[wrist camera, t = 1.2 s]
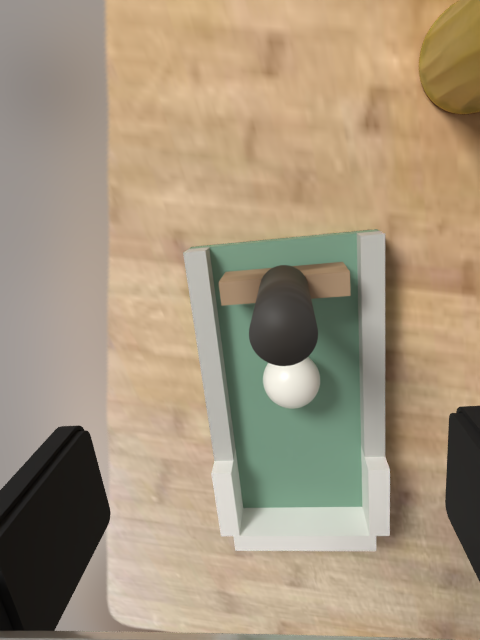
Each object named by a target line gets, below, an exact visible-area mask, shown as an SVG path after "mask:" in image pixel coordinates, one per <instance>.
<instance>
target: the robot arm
mask: <svg viewBox="0 0 480 640" xmlns="http://www.w3.org/2000/svg"><path fill="white" fill-rule="evenodd" d="M445 502H446V510H447V514H448V517H449V520H450V522H451V524H452V526H453V528H454V530H455V532H456V534H457V536H458V538H459V540H460V542H461V544H462V546H463V548H464V551H465V553H466V555H467V557H468V559H469V561H470V563H471V565H472V567H473V569H474V571H475V573H476V575H477V577H478V579H479V581H480V406H466V407H459V408H458V409H457V412H456V413H451V414H450V416H449V433H448V455H447V478H446V500H445ZM109 520H110V507H109V504H108V500H107V496H106V492H105V489H104V485H103V481H102V477H101V474H100V470H99V466H98V462H97V458H96V455H95V451H94V447H93V443H92V440H91V436H90V434H89V432H88V431H84V429H83V427H81V426H62V427H58V428H57V429H56V430H55V431H54V432H53V433H52V434H51V435H50V436H49V437H48V439H47V440H46V441H45V442H44V443H43V444H42V445H41V446H40V448H38V450H37V451H36V452H35V453H34V454H33V455H32V456H31V457H30V458H29V460H28V461H27V462H26V463H25V464H24V465H23V466H22V467H21V468H20V469H19V471H18V472H17V473H16V474H15V475H14V476H13V477H12V478H11V479H10V480H9V481H8V483H7V484H6V485H5V486H4V487H3V488H2V489H1V490H0V640H453V639H430V638H394V637H355V636H316V635H273V634H224V633H169V632H100V631H98V632H97V631H95V632H94V631H54V630H55V628H56V626H57V624H58V622H59V620H60V618H61V616H62V614H63V612H64V610H65V608H66V607H67V604H68V603H69V601H70V598H71V597H72V594H73V593H74V591H75V589H76V587H77V585H78V583H79V581H80V579H81V577H82V575H83V573H84V571H85V569H86V567H87V565H88V563H89V561H90V559H91V557H92V555H93V553H94V551H95V549H96V547H97V545H98V544H99V542H100V539H101V538H102V536H103V534H104V532H105V530H106V528H107V526H108V523H109Z"/></svg>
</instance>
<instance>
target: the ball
mask: <svg viewBox="0 0 480 640" xmlns="http://www.w3.org/2000/svg"><path fill="white" fill-rule="evenodd" d="M263 385H264V388H265V391H266V393H267V395H268V396H269V398H270V399H271V400H272V401H273V402H274V403H276V404H277V405H279V406H281V407H284V408H289V409H295V408H300V407H303V406H305V405H307V404H308V403H310V402H311V401H312V400H313V399H314V397H315V396H316V395H317V393H318V390H319V387H320V374H319V371H318V368H317V366H316V365H315V363H314V362H313V361H312V360H311V359H310V358H309V357H307V358H306V359H305V360H303V361H302V362H300V363H297V364H295V365H291V366H277V365H273V364H270V363H268V364H267V366H266V368H265V370H264V374H263Z"/></svg>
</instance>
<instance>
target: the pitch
mask: <svg viewBox="0 0 480 640" xmlns="http://www.w3.org/2000/svg"><path fill="white" fill-rule="evenodd" d="M183 254H184V261H185V268H186V274H187V281H188V287H189V294H190V301H191V307H192V314H193V321H194V327H195V334H196V341H197V347H198V354H199V361H200V367H201V374H202V381H203V387H204V394H205V400H206V407H207V414H208V420H209V427H210V434H211V440H212V447H213V454H214V460H215V461H214V465H213V469H212V473H211V474H212V481H213V487H214V494H215V500H216V506H217V513H218V519H219V526H220V532H221V536H234V543H235V550H236V551H376V536H390V468H389V466H388V463H387V460H386V457H385V233H383V232H381V231H379V230H377V229H375V230H364V231H354V232H343V233H333V234H322V235H312V236H302V237H291V238H281V239H270V240H260V241H249V242H239V243H228V244H218V245H207V246H197V247H191V248H189V249H188V250H186V251H185V252H184V253H183ZM334 262H343V263H344V264H345V265H346V267H347V268H348V270H349V271H350V294H351V296H341V297H328V298H315V299H311V300H312V305H313V309H314V314H315V318H316V323H317V328H318V340H317V344H316V346H315V348H314V350H313V352H312V353H311V354H310V355H309V356H308V357H309V358H310V359H311V360H312V361H313V362H314V363H315V365H316V366H317V368H318V371H319V374H320V387H319V390H318V393H317V395H316V396H315V397H314V399H313V400H312V401H311V402H310V403H308V404H307V405H305V406H303V407H300V408H295V409H289V408H284V407H281V406H279V405H277V404H276V403H274V402H273V401H272V400H271V399H270V398H269V396H268V395H267V393H266V391H265V388H264V385H263V374H264V370H265V368H266V366H267V364H268V362H266V361H264V360H263V359H261V358H260V357H259V356H258V355H257V354H256V353H255V351H254V350H253V348H252V346H251V344H250V340H249V327H250V323H251V319H252V315H253V311H254V307H255V303H249V304H236V305H222V306H221V298H220V290H219V281H220V280H221V278H222V277H223V275H224V273H225V272H230V271H241V270H253V269H265V268H273V267H276V266H279V265H289V266H299V265H311V264H322V263H334Z"/></svg>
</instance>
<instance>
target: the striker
mask: <svg viewBox="0 0 480 640" xmlns="http://www.w3.org/2000/svg"><path fill="white" fill-rule="evenodd" d="M219 290H220V298H221V306H222V305H236V304H249V303H255V307H254V311H253V315H252V319H251V323H250V327H249V340H250V344H251V346H252V348H253V350H254V351H255V353H256V354H257V355H258V356H259V357H260V358H261V359H263V360H264V361H266V362H268V363H270V364H273V365H277V366H291V365H295V364H297V363H300V362H302V361H303V360H305V359H306V358H307V357H308V356H309V355H310V354H311V353H312V352H313V350H314V348H315V346H316V344H317V340H318V328H317V323H316V318H315V314H314V309H313V305H312V300H311V299H315V298H328V297H341V296H351V294H350V271H349V270H348V268H347V267H346V265H345V264H344V263H343V262H334V263H322V264H311V265H299V266H289V265H279V266H276V267H273V268H265V269H253V270H241V271H230V272H225V273H224V275H223V277H222V278H221V280H220V281H219Z"/></svg>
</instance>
